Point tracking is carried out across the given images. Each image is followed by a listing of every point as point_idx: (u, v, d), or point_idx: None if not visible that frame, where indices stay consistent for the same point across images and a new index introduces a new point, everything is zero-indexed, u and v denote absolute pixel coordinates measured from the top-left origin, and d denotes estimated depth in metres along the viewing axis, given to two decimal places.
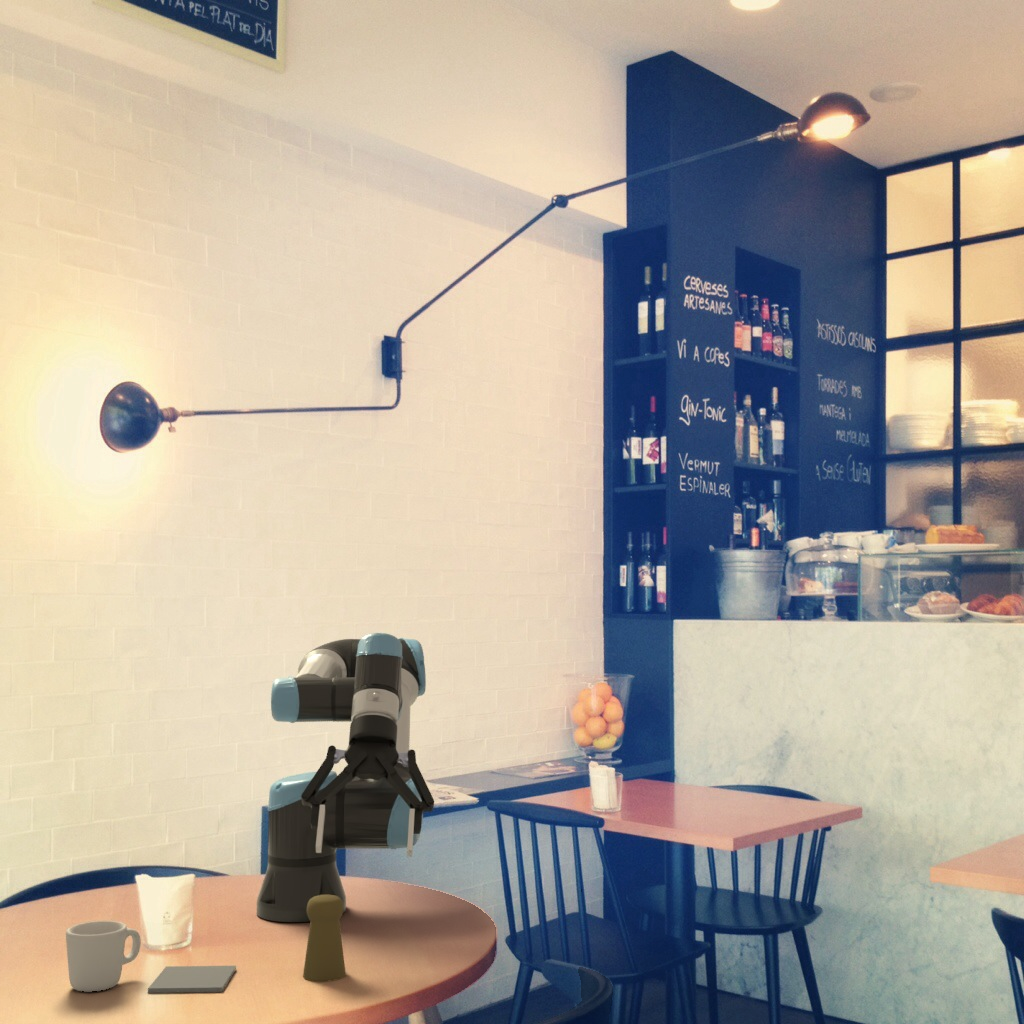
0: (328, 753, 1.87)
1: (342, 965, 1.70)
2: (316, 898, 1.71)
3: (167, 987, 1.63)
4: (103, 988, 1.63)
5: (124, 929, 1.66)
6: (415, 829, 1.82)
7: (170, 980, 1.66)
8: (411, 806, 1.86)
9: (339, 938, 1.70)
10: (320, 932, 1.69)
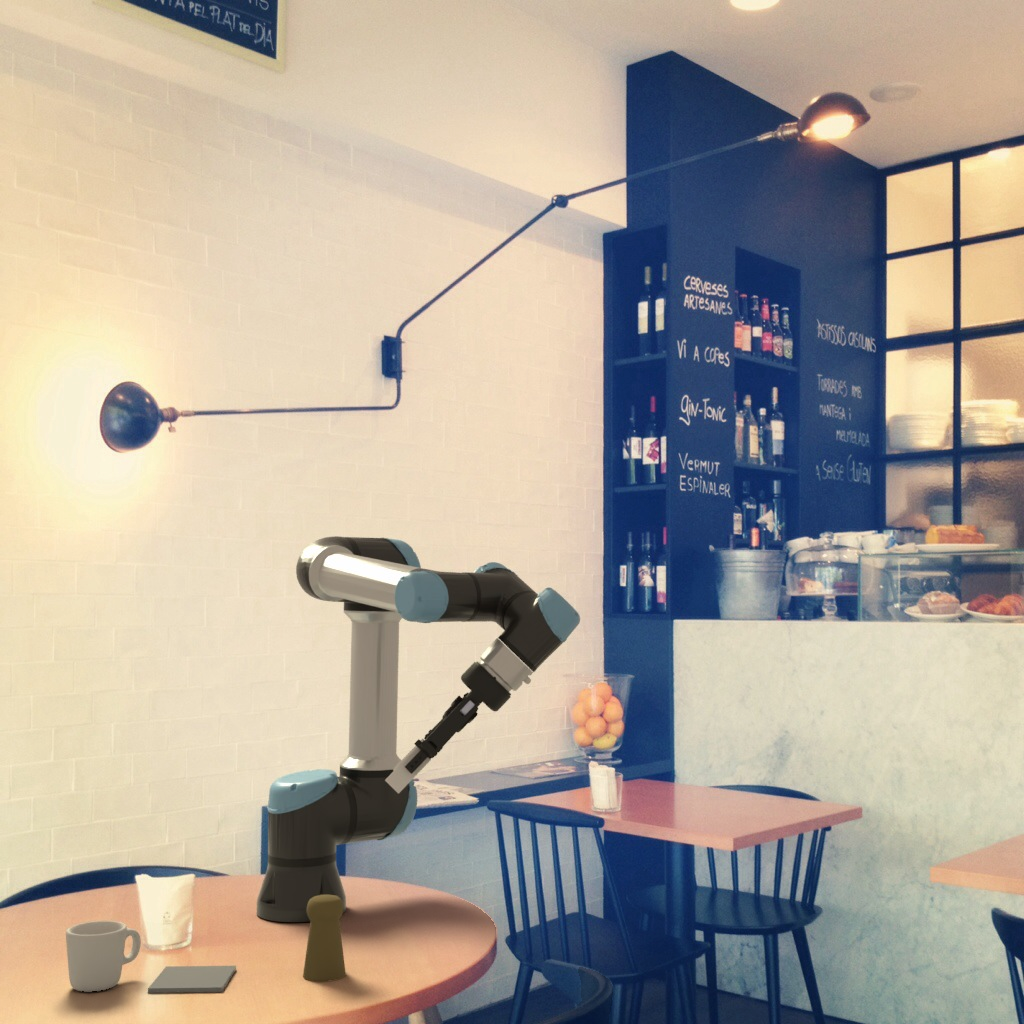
0: (471, 715, 1.72)
1: (342, 965, 1.70)
2: (316, 898, 1.71)
3: (167, 987, 1.63)
4: (103, 988, 1.63)
5: (124, 929, 1.66)
6: None
7: (170, 980, 1.66)
8: None
9: (339, 938, 1.70)
10: (320, 932, 1.69)
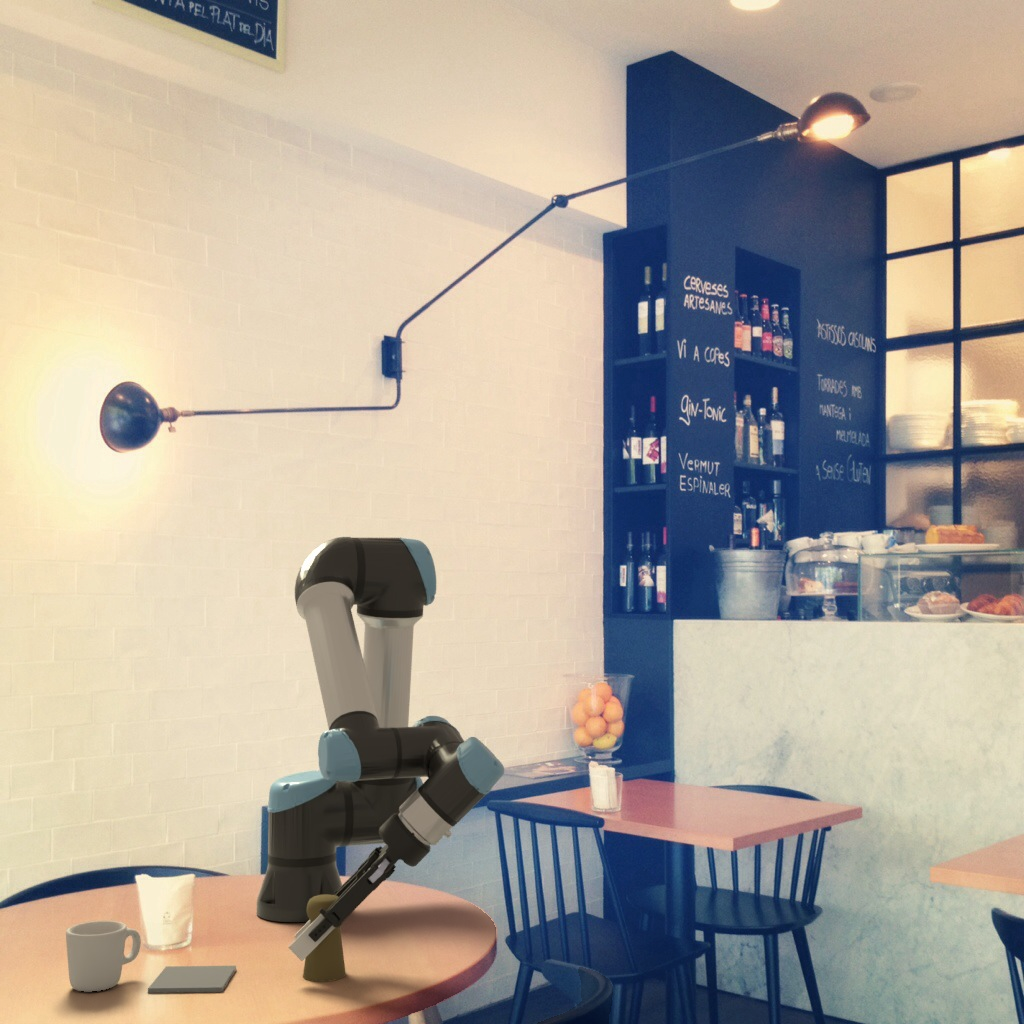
0: (379, 884, 1.66)
1: (342, 965, 1.70)
2: (316, 898, 1.71)
3: (167, 987, 1.63)
4: (103, 988, 1.63)
5: (124, 929, 1.66)
6: None
7: (170, 980, 1.66)
8: (338, 897, 1.75)
9: (339, 938, 1.70)
10: None
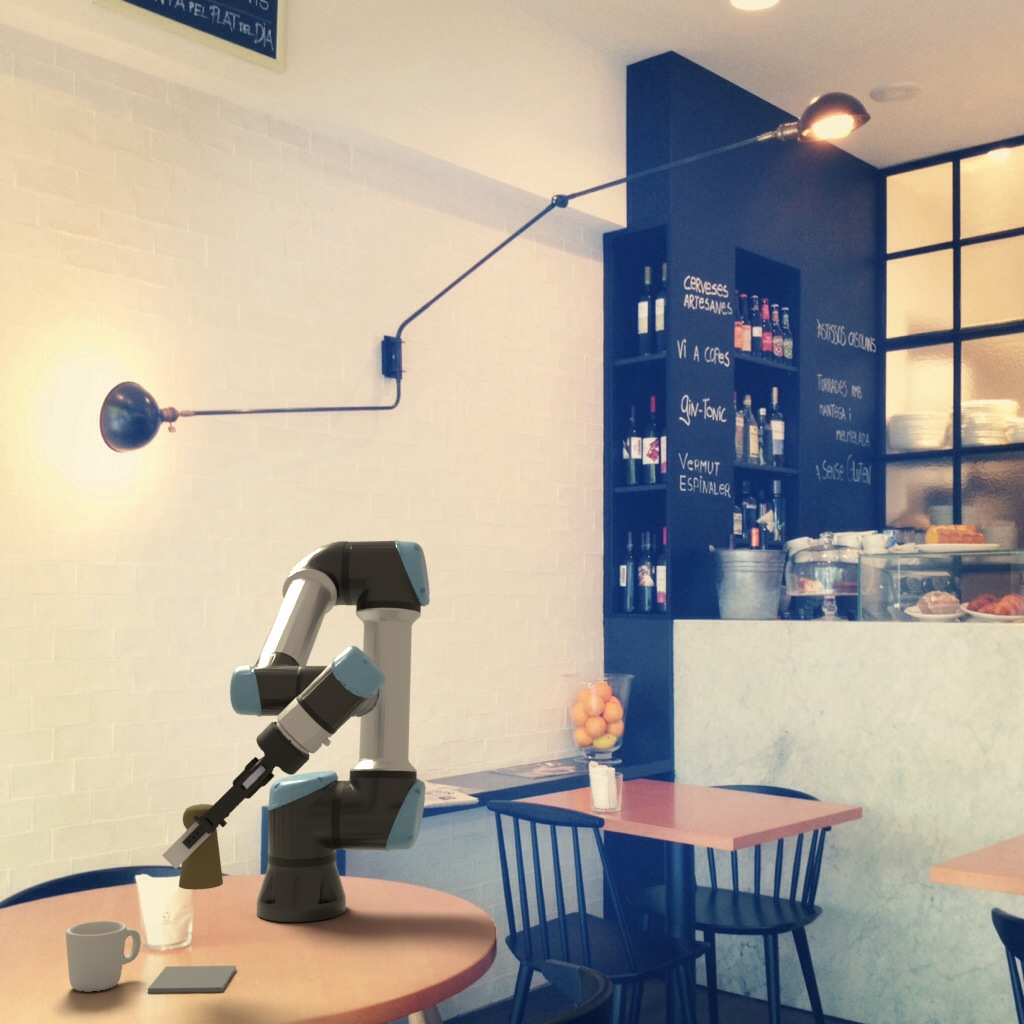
0: (253, 790, 1.64)
1: (218, 874, 1.68)
2: (192, 807, 1.69)
3: (167, 987, 1.63)
4: (103, 988, 1.63)
5: (124, 929, 1.66)
6: None
7: (170, 980, 1.66)
8: None
9: (215, 847, 1.68)
10: None
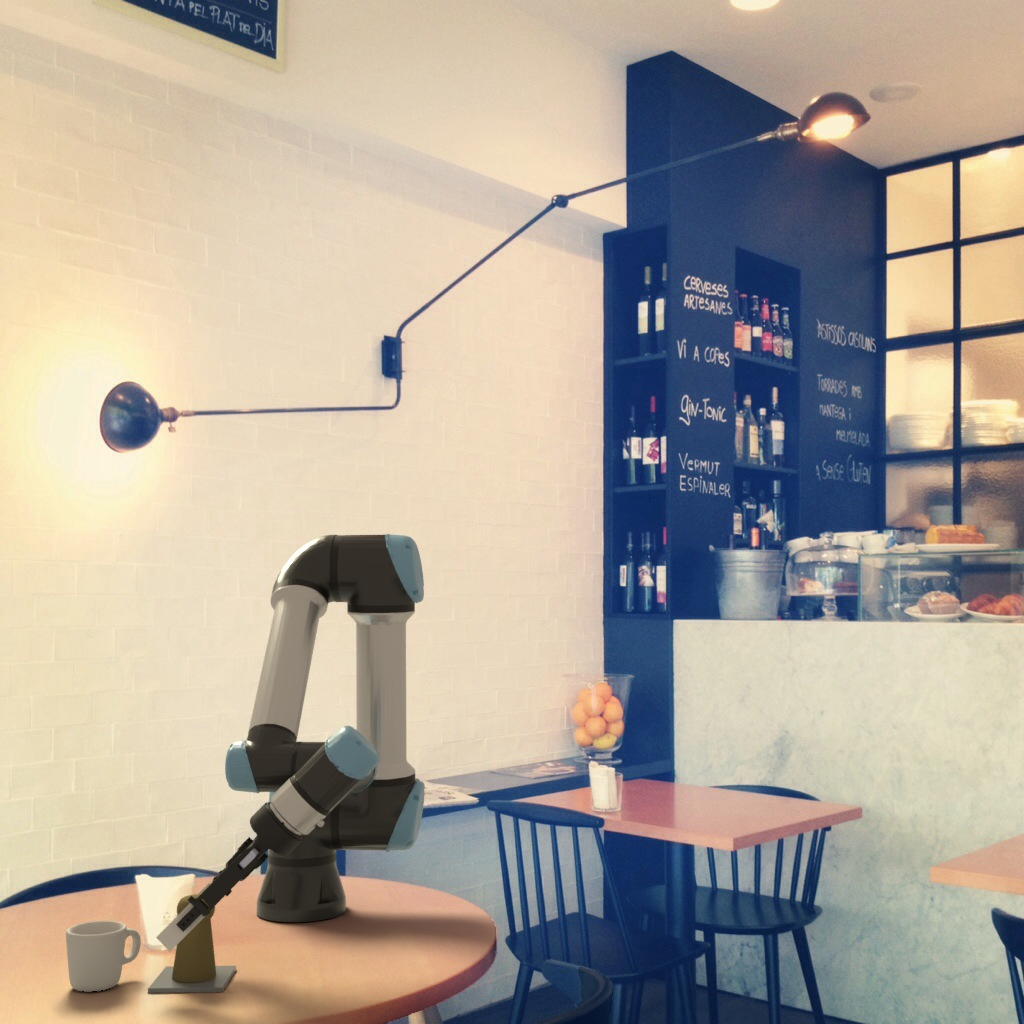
0: (250, 869, 1.63)
1: (212, 966, 1.67)
2: (186, 898, 1.68)
3: (167, 987, 1.63)
4: (103, 988, 1.63)
5: (124, 929, 1.66)
6: None
7: (170, 980, 1.66)
8: None
9: (209, 939, 1.68)
10: (189, 932, 1.67)
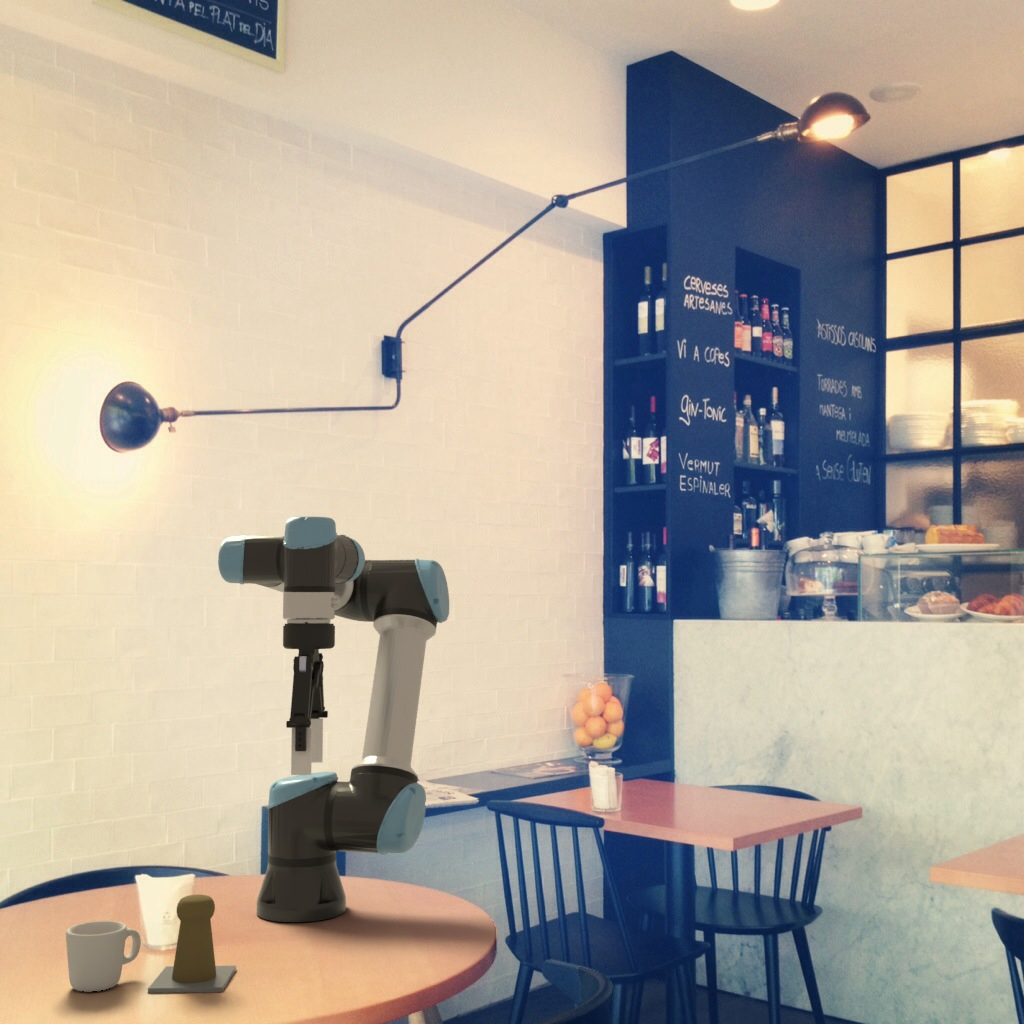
0: (311, 666, 1.69)
1: (212, 966, 1.67)
2: (186, 898, 1.68)
3: (167, 987, 1.63)
4: (103, 988, 1.63)
5: (124, 929, 1.66)
6: None
7: (170, 980, 1.66)
8: None
9: (209, 939, 1.68)
10: (189, 932, 1.66)
